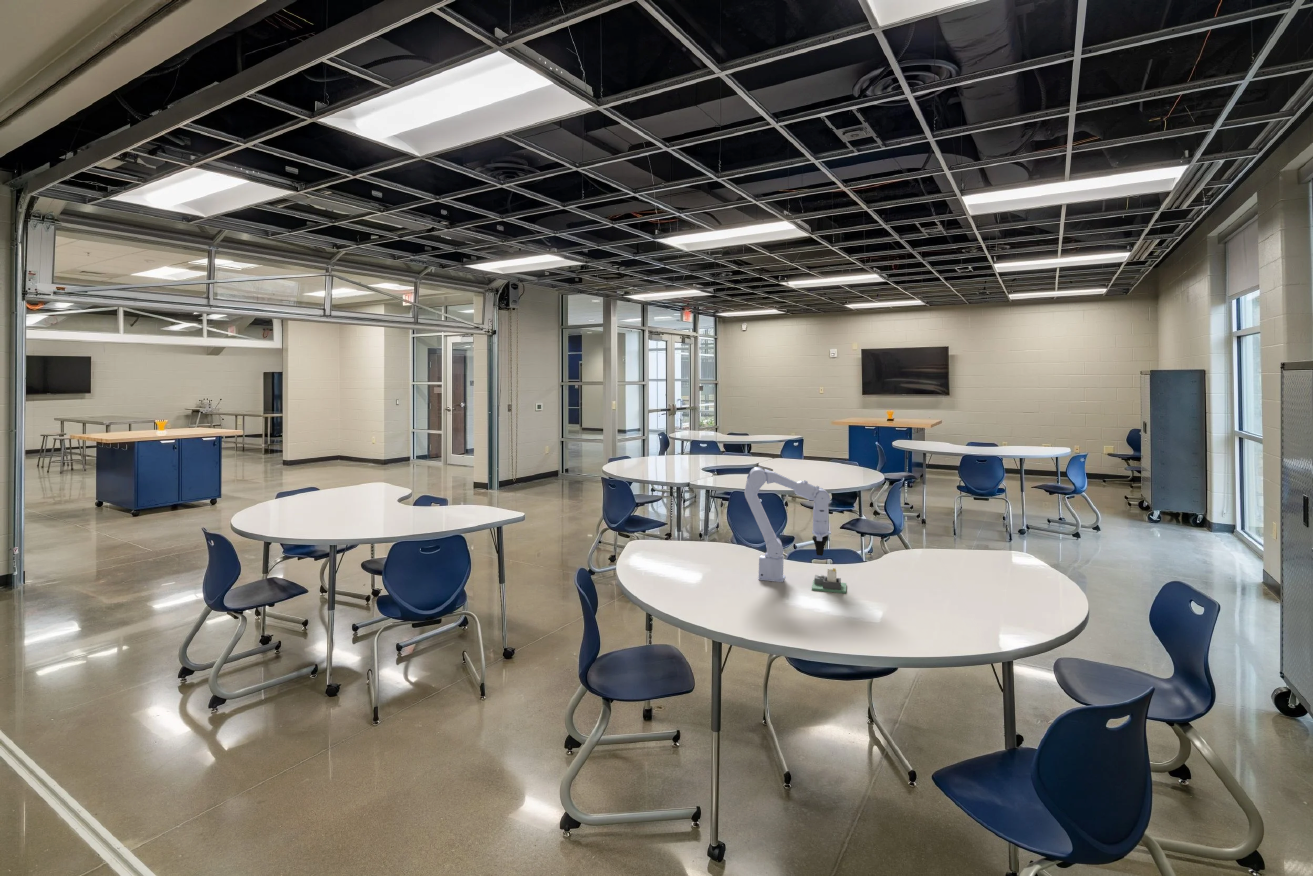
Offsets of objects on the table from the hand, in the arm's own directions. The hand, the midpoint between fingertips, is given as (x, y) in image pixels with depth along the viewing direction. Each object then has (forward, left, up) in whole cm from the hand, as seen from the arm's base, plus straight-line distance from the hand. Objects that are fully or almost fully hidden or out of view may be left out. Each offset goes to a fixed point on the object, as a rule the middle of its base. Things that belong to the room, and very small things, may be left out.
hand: (819, 555), depth 237 cm
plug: (+5, -9, -9) cm, 14 cm away
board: (+4, -8, -10) cm, 13 cm away
